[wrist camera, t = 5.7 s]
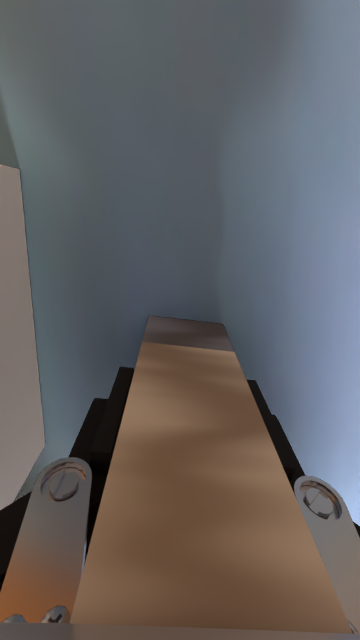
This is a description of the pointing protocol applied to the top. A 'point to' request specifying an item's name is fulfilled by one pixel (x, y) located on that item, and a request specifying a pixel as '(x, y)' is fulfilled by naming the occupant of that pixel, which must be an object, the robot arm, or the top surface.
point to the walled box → (16, 347)
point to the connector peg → (200, 504)
